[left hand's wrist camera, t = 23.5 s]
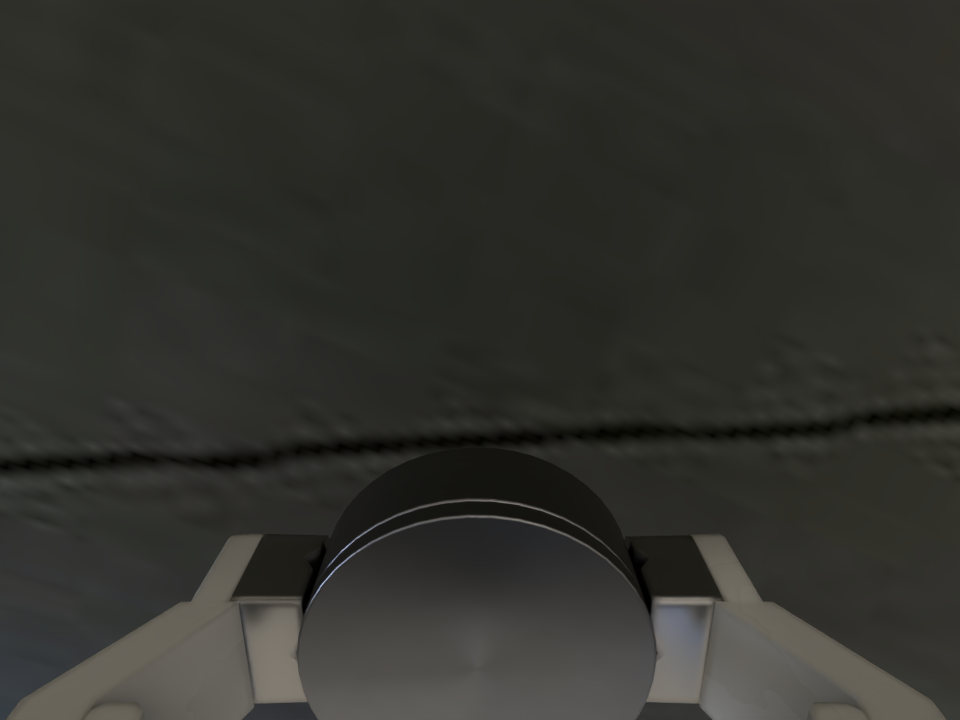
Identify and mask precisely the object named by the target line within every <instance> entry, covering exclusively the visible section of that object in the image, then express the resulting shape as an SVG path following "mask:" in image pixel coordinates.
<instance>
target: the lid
mask: <svg viewBox="0 0 960 720" xmlns="http://www.w3.org/2000/svg"><path fill="white" fill-rule="evenodd" d="M297 660H298V671H299V676H300V680H301V684H302V688H303V691H304V694H305V696H306V698H307V701H308V703H309V705H310V707H311V709H312V711H313V713H314V714H315V716H316V717H317V719H318V720H636V719H637V717H638V716H639V714H640V712H641V710H642V708H643V706H644V704H645V702H646V700H647V698H648V696H649V693H650V689H651V686H652V683H653V680H654V674H655V667H656V639H655V634H654V628H653V623H652V620H651V617H650V615H649V612H648V609H647V606H646V603H645V600H644V597H643V594H642V591H641V588H640V585H639V582H638V579H637V576H636V573H635V570H634V567H633V564H632V561H631V558H630V555H629V553H628V550H627V547H626V544H625V541H624V538H623V536H622V533H621V530H620V528H619V526H618V524H617V522H616V521H615V519H614V517H613V515H612V514H611V512H610V511H609V510H608V508H607V507H606V506H605V504H604V503H603V502H602V500H601V499H600V498H599V497H598V496H597V495H596V494H595V493H594V492H593V491H592V490H591V489H590V488H589V487H588V486H587V485H585V484H584V483H582V482H581V481H580V480H578V479H577V478H576V477H574V476H573V475H572V474H570V473H568V472H566V471H565V470H563V469H561V468H559V467H557V466H555V465H554V464H552V463H549V462H547V461H544V460H542V459H539V458H537V457H534V456H531V455H527V454H523V453H519V452H516V451H511V450H504V449H497V448H477V447H469V448H458V449H449V450H444V451H439V452H435V453H430V454H427V455H424V456H421V457H418V458H415V459H412V460H409V461H407V462H405V463H403V464H401V465H399V466H397V467H395V468H393V469H391V470H389V471H388V472H386V473H385V474H383V475H382V476H380V477H379V478H377V479H376V480H374V481H373V482H372V483H370V484H369V485H368V486H367V487H366V488H365V489H364V490H363V491H361V492H360V493H359V494H358V495H357V496H356V498H355V499H354V500H353V501H352V502H351V503H350V505H349V506H348V507H347V508H346V510H345V511H344V513H343V515H342V516H341V518H340V519H339V521H338V523H337V525H336V527H335V529H334V532H333V534H332V536H331V538H330V541H329V544H328V547H327V550H326V553H325V556H324V558H323V561H322V564H321V567H320V570H319V573H318V576H317V578H316V581H315V584H314V587H313V590H312V593H311V596H310V599H309V602H308V604H307V607H306V610H305V613H304V616H303V619H302V623H301V627H300V631H299V635H298V647H297Z"/></svg>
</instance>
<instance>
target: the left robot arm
mask: <svg viewBox="0 0 960 720" xmlns="http://www.w3.org/2000/svg"><path fill="white" fill-rule="evenodd" d="M329 541H330V539H329V537H328V535H281V534H267V535H264V534H235V535H233V536H231V537H230V538H229V539H228V540H227V542H226V544H225V545H224V547H223V549H222V550H221V552H220V554H219V555H218V557H217V559H216V560H215V562H214V564H213V565H212V567H211V569H210V570H209V572H208V574H207V575H206V577H205V579H204V580H203V582H202V584H201V585H200V587H199V589H198V590H197V592H196V594H195V595H194V597H193V599H192V600H191V602H180V603H178V604H177V605H175V606H173V607H172V608H170V609H169V610H167V611H165V612H164V613H162V614H160V615H159V616H157V617H155V618H154V619H152V620H150V621H149V622H147V623H146V624H144V625H142V626H141V627H139V628H137V629H136V630H134V631H132V632H131V633H129V634H128V635H126V636H124V637H123V638H121V639H119V640H118V641H116V642H114V643H113V644H111V645H110V646H108V647H106V648H105V649H103V650H101V651H100V652H98V653H96V654H95V655H93V656H92V657H90V658H88V659H87V660H85V661H83V662H82V663H80V664H78V665H77V666H75V667H74V668H72V669H70V670H69V671H67V672H65V673H64V674H62V675H60V676H59V677H57V678H56V679H54V680H52V681H51V682H49V683H47V684H46V685H44V686H42V687H41V688H39V689H37V690H36V691H34V692H33V693H31V694H29V695H28V696H26V697H24V698H23V699H21V701H20V702H19V703H18V704H17V706H16V707H15V708H14V710H13V711H12V712H11V713H10V715H9V716H8V717H7V718H6V720H242V719H243V718H244V717H245V716H246V715H247V714H248V713H249V712H250V711H251V710H252V709H253V708H254V703H285V702H308V701H307V698H306V696H305V694H304V691H303V688H302V684H301V680H300V676H299V671H298V660H297V647H298V635H299V631H300V627H301V623H302V619H303V616H304V613H305V610H306V607H307V604H308V602H309V599H310V596H311V593H312V590H313V587H314V584H315V581H316V578H317V576H318V573H319V570H320V567H321V564H322V561H323V558H324V556H325V553H326V550H327V547H328V544H329ZM624 541H625V544H626V547H627V550H628V553H629V555H630V558H631V561H632V564H633V567H634V570H635V573H636V576H637V579H638V582H639V585H640V588H641V591H642V594H643V597H644V600H645V603H646V606H647V609H648V612H649V615H650V617H651V620H652V623H653V628H654V634H655V639H656V667H655V674H654V680H653V683H652V686H651V689H650V693H649V696H648V698H647V700H646V702H668V703H700V705H699V706H700V707H701V708H702V709H703V710H704V711H705V712H706V713H707V715H708V716H709V717H710V718H711V719H712V720H946V718H945V717H944V716H943V714H942V713H941V712H940V710H939V709H938V708H937V707H936V705H935V704H934V703H933V701H932V700H930V699H929V698H927V697H926V696H924V695H922V694H921V693H919V692H917V691H916V690H914V689H913V688H911V687H909V686H908V685H906V684H905V683H903V682H901V681H900V680H898V679H896V678H895V677H893V676H892V675H890V674H888V673H887V672H885V671H884V670H882V669H880V668H879V667H877V666H875V665H874V664H872V663H871V662H869V661H867V660H866V659H864V658H862V657H861V656H859V655H858V654H856V653H854V652H853V651H851V650H850V649H848V648H846V647H845V646H843V645H841V644H840V643H838V642H837V641H835V640H833V639H832V638H830V637H829V636H827V635H825V634H824V633H822V632H820V631H819V630H817V629H816V628H814V627H812V626H811V625H809V624H808V623H806V622H804V621H803V620H801V619H799V618H798V617H796V616H795V615H793V614H791V613H790V612H788V611H786V610H785V609H783V608H782V607H780V606H778V605H777V604H775V603H774V602H763V601H762V599H761V598H760V596H759V594H758V593H757V591H756V589H755V588H754V586H753V584H752V583H751V581H750V579H749V577H748V576H747V574H746V572H745V571H744V569H743V567H742V566H741V564H740V562H739V561H738V559H737V557H736V555H735V554H734V552H733V550H732V549H731V547H730V545H729V544H728V542H727V540H726V539H725V537H724V536H722V535H721V534H694V535H685V536H625V540H624Z"/></svg>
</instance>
